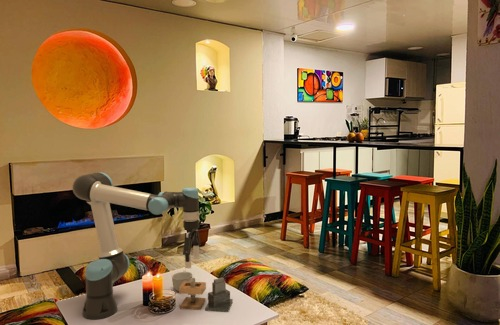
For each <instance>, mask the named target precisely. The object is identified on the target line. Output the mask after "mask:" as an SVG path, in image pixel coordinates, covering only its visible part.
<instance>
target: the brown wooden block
mask: <svg viewBox="0 0 500 325" xmlns="http://www.w3.org/2000/svg"><path fill="white" fill-rule="evenodd" d="M206 289H207V282H205V281H195V286H190V282H188V281H184V282H183V283H182V284H181V286H180V287H179V291H178V292H179V294H187V295H188V294H196V295H203V294H204V293H205V291H206Z"/></svg>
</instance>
